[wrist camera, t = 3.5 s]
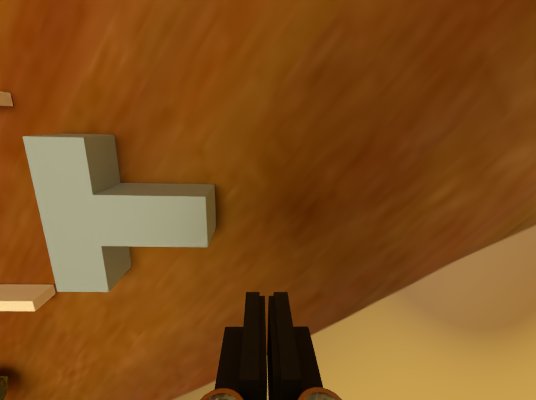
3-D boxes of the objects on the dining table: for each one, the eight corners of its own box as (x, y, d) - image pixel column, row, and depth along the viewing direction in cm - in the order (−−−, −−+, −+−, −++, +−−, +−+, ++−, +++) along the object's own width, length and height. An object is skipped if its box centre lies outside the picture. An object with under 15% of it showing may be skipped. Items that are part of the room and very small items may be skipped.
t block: (213, 136, 22) (203, 140, 19) (217, 266, 26) (209, 292, 22) (64, 133, 22) (22, 136, 18) (88, 265, 25) (57, 291, 22)
